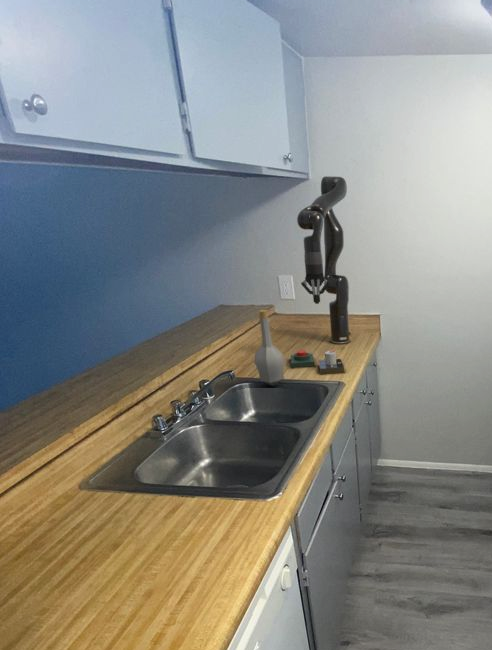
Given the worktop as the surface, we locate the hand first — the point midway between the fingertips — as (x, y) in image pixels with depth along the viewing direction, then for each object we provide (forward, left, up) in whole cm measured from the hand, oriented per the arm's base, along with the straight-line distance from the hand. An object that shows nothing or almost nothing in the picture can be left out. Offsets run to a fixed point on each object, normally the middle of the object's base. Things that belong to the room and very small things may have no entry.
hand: (316, 303), depth 211 cm
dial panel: (+18, +3, -25) cm, 31 cm away
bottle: (+34, -22, -25) cm, 48 cm away
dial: (+18, +3, -22) cm, 29 cm away
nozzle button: (+7, -9, -21) cm, 24 cm away
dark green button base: (+7, -9, -25) cm, 27 cm away
